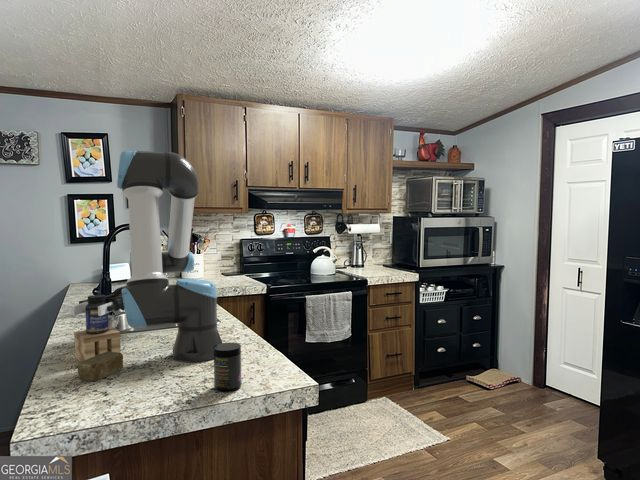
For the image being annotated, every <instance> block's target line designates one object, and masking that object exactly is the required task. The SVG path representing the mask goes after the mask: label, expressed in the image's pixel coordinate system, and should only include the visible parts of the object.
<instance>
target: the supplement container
mask: <svg viewBox="0 0 640 480" xmlns="http://www.w3.org/2000/svg"><path fill="white" fill-rule="evenodd" d="M213 354H214V359H213V376H214V377H213V382H214V385H213V386H214V389H215V390H216V391H217V390H218V392H220V391H222V393H230V392H229V391H231V392H235V391H237V390H239V389H240V388H241V387H242V382H243V381H242V345H241V344H240V343H238V342H222V343H221V344H217V345H215V346H214V347H213ZM234 390H235V391H234Z"/></svg>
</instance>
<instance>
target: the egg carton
mask: <svg viewBox="0 0 640 480" xmlns="http://www.w3.org/2000/svg"><path fill="white" fill-rule="evenodd" d="M108 323H109V327H111V328H113V329H115V328H117V326H118V325H119V323H120V315H117V316H115V315H110V314H108Z"/></svg>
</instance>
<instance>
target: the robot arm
mask: <svg viewBox="0 0 640 480" xmlns="http://www.w3.org/2000/svg"><path fill="white" fill-rule="evenodd" d="M119 155H120V156H119V162H118V169H117V170H118V171H117V182H116V183H117V184H116V188H118V189H120V190H122V195H123V196H124V197H125V198H126V199H127V201H128V202H127V204H128V221H129V222H128V224H129V240H130V244H129V245H130V252H129V269H130V272H129V273H130V274H129V275H130V278H129V279H128V280H127V281H126V285H123V286H120V287H118V288H116V289H115V290H113V293H111V294H109V295H105V300H104V302H105V303H107V304H104V305H101V306H98V316H102V315H104V314H107V313H108V314H109V313H111V312H114V311H115V312H116V311H119V310H121V311H124V314H125V318H126V322H127V325H128V326H129V327H130V328H134V329H136V328H147V327H157V326H159V327H160V326H167V325H174V324H177V334H176V338H175V341H174V344H173V347H172V358H173V359H174V360H175V361H178V362H184V363H197V362H199V363H200V362H206V361H210V360H214V354H213V347H214V346H215V345H217V344H221V343H223V341H222V338H221V336H220V332H219V329H218V310H217V309H218V305H217V304H218V303H217V301H218V300H217V299H218V295H217V287H216V284H215V283H214V282H213V281H210V280H205V279H196V278H178V279H176V282H175V283H176V284H169V283H170V282H169V278H168V277H167V276H166V275H165V274H170V273H171V274H173V273H180V274H181V273H186V272H187V273H188V272H192V271H193V270H194V267H195V257H194V253H193V252H191V251H190V246H191V236H192V229H193V228H192V227H193V219H194V218H193V217H194V209H195V208H194V207H195V200H196V198H197V197H198V196H199V192H200V191H199V189H200V184H199V179H198V175H197V172H196V170H195V169H194V167H193V165H192V164H191V163H190V161H188V159H186V158H185V157H184V156H182V155H180V154H179V153H177V152H176V153H175V152H172V151H167V152H166V151H150V150H149V151H148V150H146V151H145V150H138V149H136V150H123V151H122V152H120V154H119ZM164 190H168V193H169V196H171V198H170V210H169V211H170V212H169V224H168V225H169V227H168V241H167V252H162V240H161V223H160V212H159V211H160V207H159V199H160V197H161V196H162V195H163V193H164ZM87 304H89V302H88V298H86V299H83V300H80V301H78V304H76V305H72V306H71V316H77V315H80V314H82V313H84V314H86V312H85V307H86V305H87Z"/></svg>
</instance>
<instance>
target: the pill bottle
mask: <svg viewBox="0 0 640 480" xmlns="http://www.w3.org/2000/svg"><path fill="white" fill-rule="evenodd" d="M105 296H106V295H105V294H91V295H88V296H87V299H88V302H89V304H87V305H86V307H85V330H86V333H87V334H101V333H105V332H107V331H108V330H109V323H108V316H109V313H107V314H104V315H102V316H98V306H101V305H104V304H107V303H105V302H104V300H105Z"/></svg>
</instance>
